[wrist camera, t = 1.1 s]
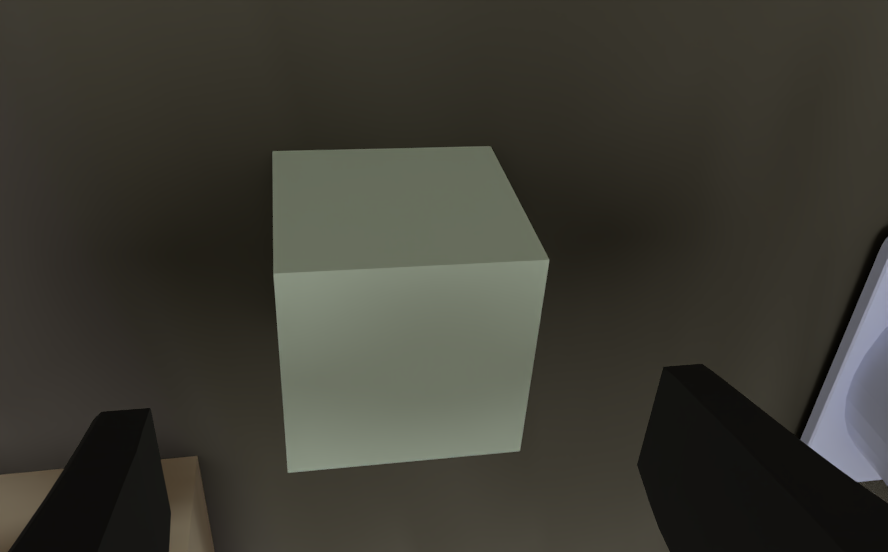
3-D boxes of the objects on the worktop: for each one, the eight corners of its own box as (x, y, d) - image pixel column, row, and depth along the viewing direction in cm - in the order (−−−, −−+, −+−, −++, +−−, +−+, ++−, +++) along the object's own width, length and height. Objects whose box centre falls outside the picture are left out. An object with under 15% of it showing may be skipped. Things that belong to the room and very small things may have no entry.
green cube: (489, 143, 15) (549, 259, 12) (473, 315, 17) (519, 451, 14) (272, 149, 15) (273, 273, 11) (284, 326, 17) (287, 472, 14)
